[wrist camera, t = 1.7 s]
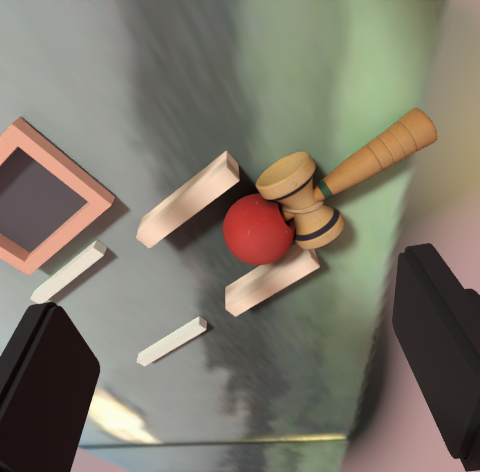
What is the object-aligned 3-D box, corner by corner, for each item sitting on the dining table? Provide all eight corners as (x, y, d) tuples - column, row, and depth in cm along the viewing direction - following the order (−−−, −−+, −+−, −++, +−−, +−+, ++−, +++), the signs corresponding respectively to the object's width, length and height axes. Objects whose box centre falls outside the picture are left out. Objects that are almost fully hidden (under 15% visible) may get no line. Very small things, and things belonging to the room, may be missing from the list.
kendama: (385, 64, 28) (196, 200, 32) (439, 94, 24) (210, 249, 27) (409, 138, 33) (243, 248, 37) (458, 174, 29) (262, 297, 32)
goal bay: (96, 239, 35) (93, 247, 34) (206, 321, 42) (206, 329, 42) (34, 290, 39) (29, 298, 38) (146, 357, 46) (144, 366, 45)
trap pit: (20, 116, 28) (11, 123, 27) (115, 196, 33) (111, 205, 31) (-58, 205, 33) (-69, 215, 31) (35, 265, 37) (28, 275, 36)
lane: (226, 150, 30) (226, 167, 28) (313, 246, 37) (320, 266, 34) (142, 218, 34) (135, 237, 32) (234, 295, 40) (235, 316, 38)
